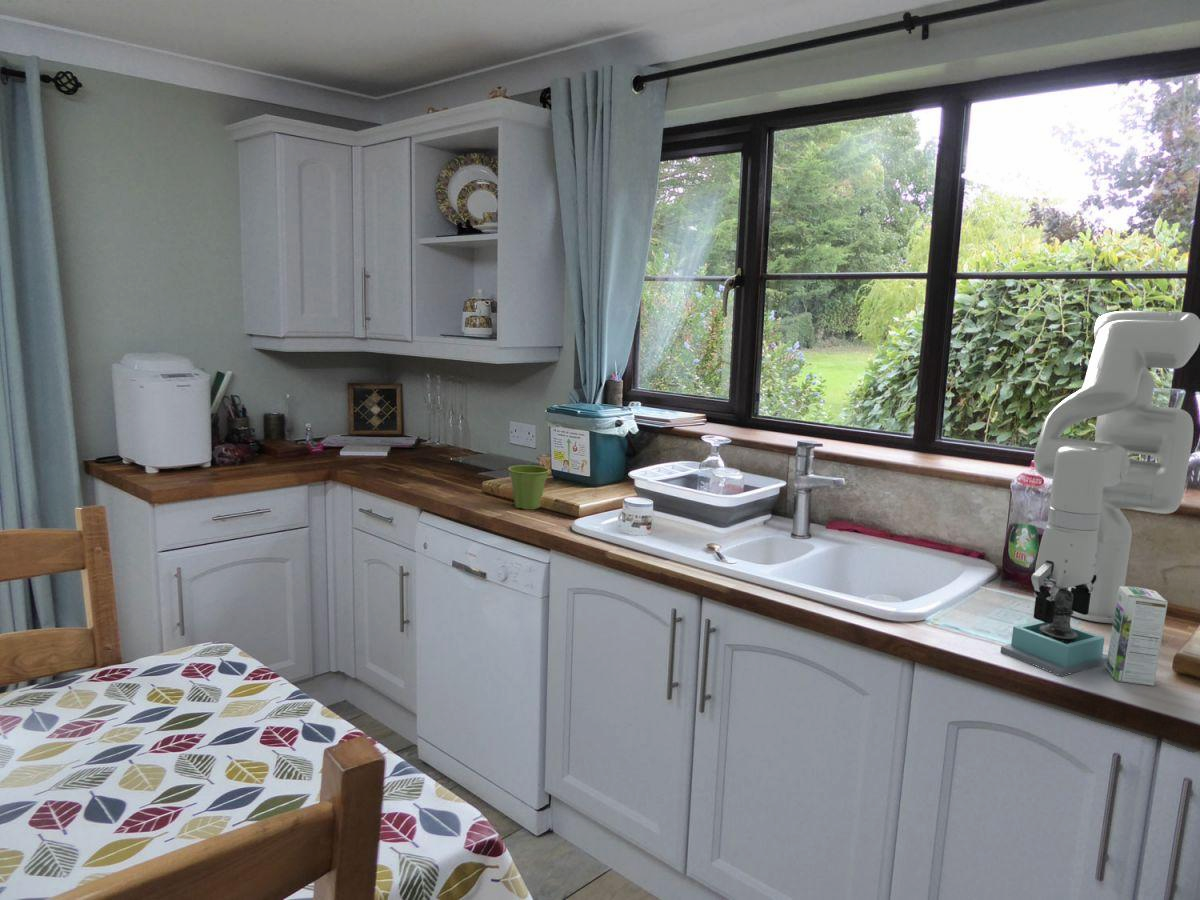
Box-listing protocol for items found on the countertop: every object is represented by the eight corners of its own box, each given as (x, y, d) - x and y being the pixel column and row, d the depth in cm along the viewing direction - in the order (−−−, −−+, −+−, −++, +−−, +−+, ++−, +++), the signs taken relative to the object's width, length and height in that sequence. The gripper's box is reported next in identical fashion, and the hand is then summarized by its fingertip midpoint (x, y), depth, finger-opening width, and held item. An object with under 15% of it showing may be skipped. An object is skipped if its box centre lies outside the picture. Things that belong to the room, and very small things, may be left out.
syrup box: (1104, 667, 141) (1116, 584, 138) (1144, 673, 139) (1157, 589, 137) (1114, 681, 135) (1126, 595, 133) (1156, 687, 134) (1169, 600, 131)
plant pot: (523, 513, 233) (524, 474, 231) (499, 505, 242) (500, 467, 240) (556, 508, 240) (558, 470, 239) (532, 500, 249) (533, 463, 247)
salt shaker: (1062, 644, 147) (1071, 579, 145) (1082, 658, 142) (1093, 590, 140) (1029, 643, 147) (1038, 578, 145) (1049, 657, 141) (1058, 589, 139)
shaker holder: (1050, 639, 152) (1053, 615, 152) (1111, 662, 143) (1114, 637, 142) (1000, 651, 146) (1003, 627, 145) (1060, 676, 136) (1064, 650, 136)
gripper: (1082, 510, 148) (1070, 602, 151) (1019, 519, 140) (1008, 616, 143) (1125, 519, 141) (1112, 616, 144) (1062, 530, 133) (1050, 632, 136)
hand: (1060, 616), depth 143 cm, fingers open, 9 cm apart
